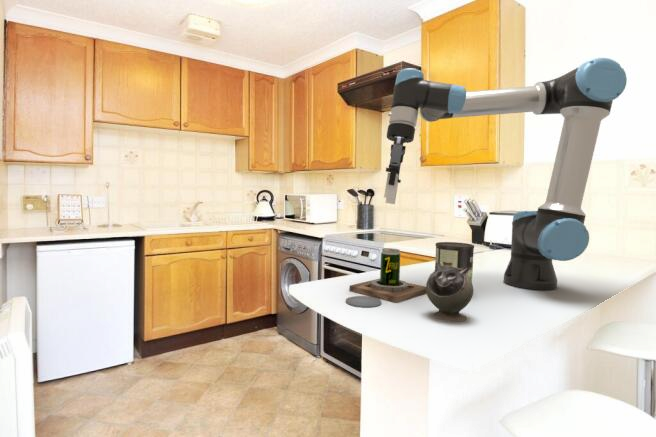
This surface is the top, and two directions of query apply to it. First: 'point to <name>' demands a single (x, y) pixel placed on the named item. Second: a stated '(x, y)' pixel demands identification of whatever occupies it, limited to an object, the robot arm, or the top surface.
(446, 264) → the coffee can
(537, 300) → the top surface
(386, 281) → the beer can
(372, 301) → the coaster
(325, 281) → the top surface
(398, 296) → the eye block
